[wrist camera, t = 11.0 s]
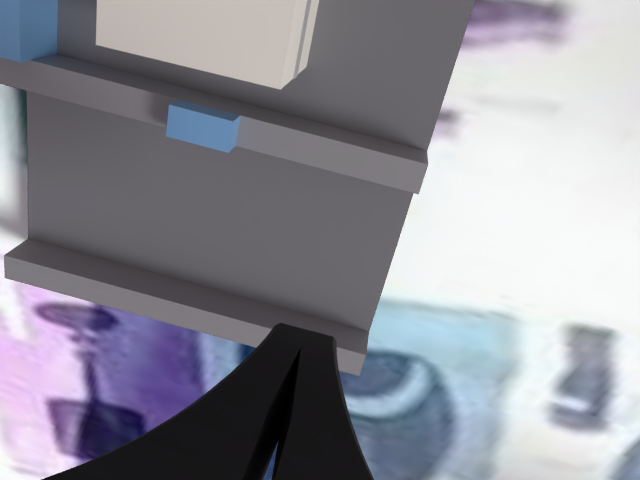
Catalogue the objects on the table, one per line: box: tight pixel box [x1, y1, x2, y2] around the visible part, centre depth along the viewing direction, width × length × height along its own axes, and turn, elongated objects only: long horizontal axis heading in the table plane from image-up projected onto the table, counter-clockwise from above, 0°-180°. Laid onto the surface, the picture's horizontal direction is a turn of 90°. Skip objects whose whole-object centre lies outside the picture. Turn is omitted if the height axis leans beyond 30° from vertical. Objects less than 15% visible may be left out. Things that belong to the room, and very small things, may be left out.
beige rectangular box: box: [96, 0, 319, 90], centre depth 16 cm, size 5×3×4 cm, turn 78°
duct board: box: [0, 0, 475, 376], centre depth 19 cm, size 14×16×3 cm
